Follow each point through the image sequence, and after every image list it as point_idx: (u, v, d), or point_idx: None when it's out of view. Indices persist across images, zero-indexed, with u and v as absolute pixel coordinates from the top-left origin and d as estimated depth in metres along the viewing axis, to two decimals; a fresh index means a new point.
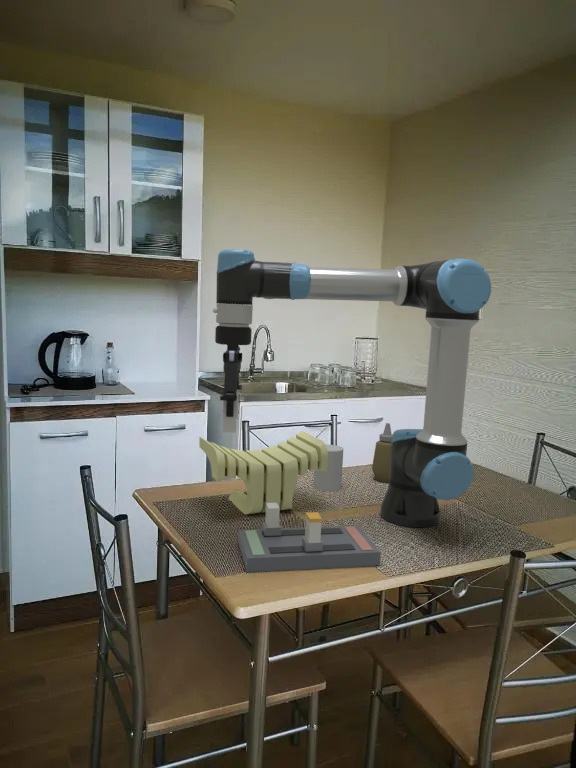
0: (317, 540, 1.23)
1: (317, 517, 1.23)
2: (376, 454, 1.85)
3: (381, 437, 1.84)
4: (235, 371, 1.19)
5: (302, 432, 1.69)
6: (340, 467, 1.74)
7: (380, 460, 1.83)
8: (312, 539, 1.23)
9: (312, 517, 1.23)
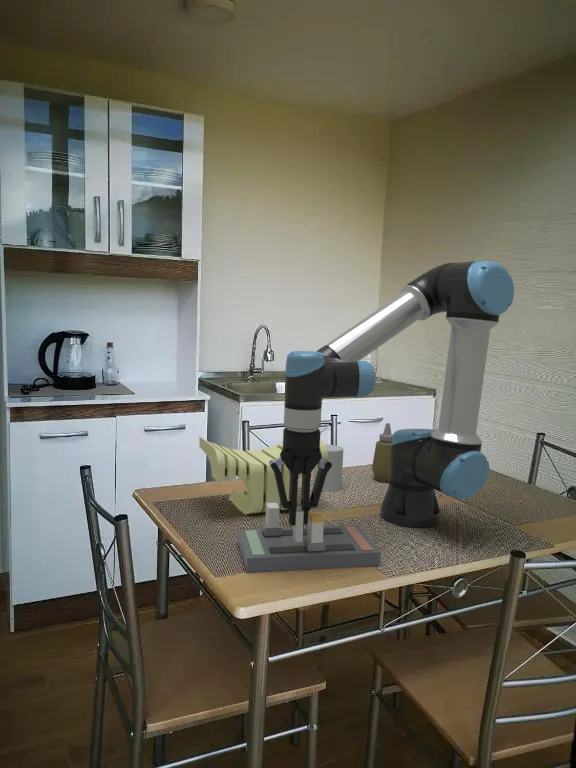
0: (319, 540, 1.23)
1: (319, 517, 1.23)
2: (376, 454, 1.85)
3: (381, 437, 1.84)
4: (277, 483, 1.21)
5: None
6: (340, 467, 1.74)
7: (380, 460, 1.83)
8: (314, 539, 1.23)
9: (314, 517, 1.23)
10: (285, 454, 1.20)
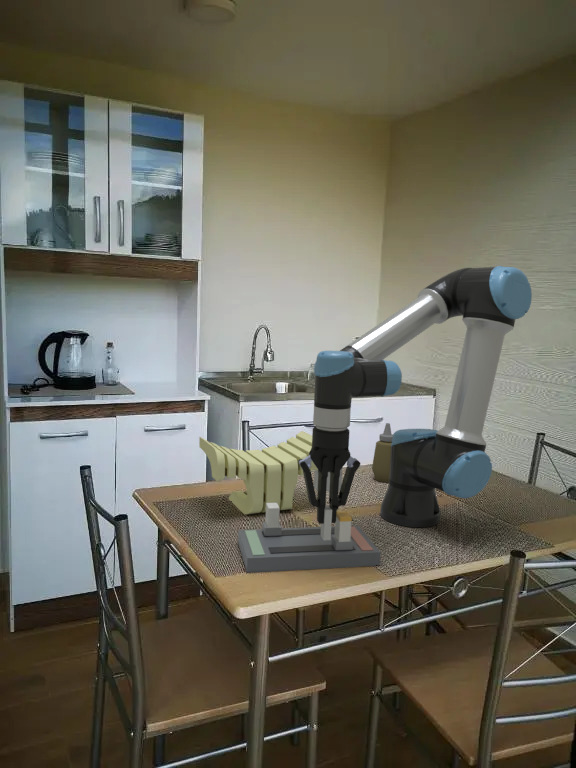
0: (347, 539, 1.24)
1: (347, 516, 1.24)
2: (376, 454, 1.85)
3: (381, 437, 1.84)
4: (306, 481, 1.22)
5: (302, 432, 1.69)
6: None
7: (380, 460, 1.83)
8: (342, 538, 1.24)
9: (342, 516, 1.24)
10: (314, 453, 1.21)
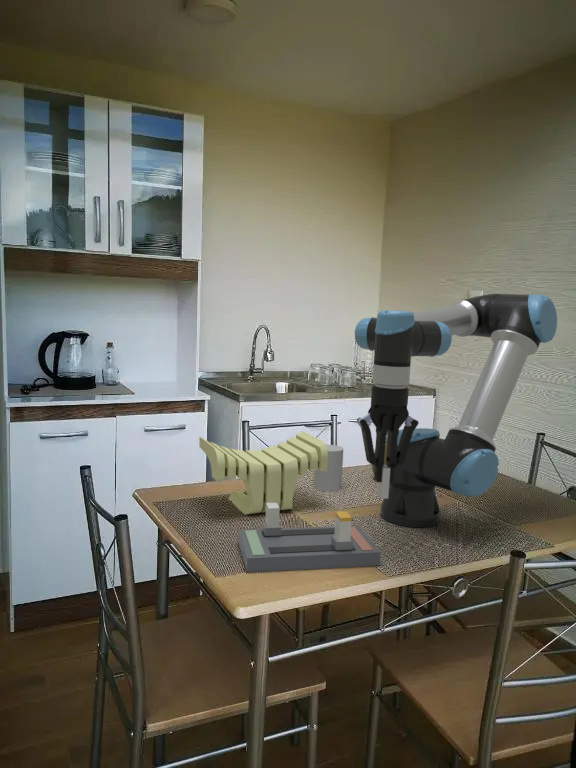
0: (347, 539, 1.24)
1: (347, 516, 1.24)
2: None
3: None
4: (365, 439, 1.23)
5: (302, 432, 1.69)
6: (340, 467, 1.74)
7: None
8: (342, 538, 1.24)
9: (342, 516, 1.24)
10: (374, 411, 1.22)
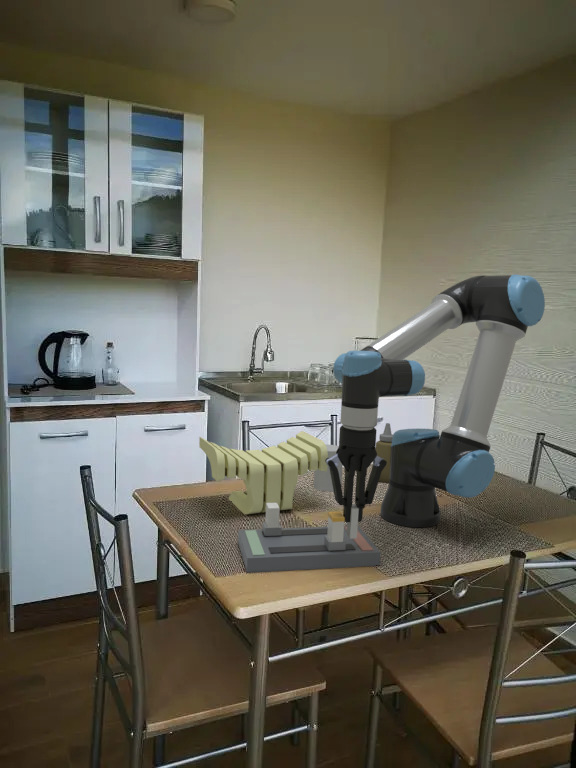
0: (340, 539, 1.24)
1: (340, 516, 1.24)
2: None
3: (381, 437, 1.84)
4: (333, 480, 1.23)
5: (302, 432, 1.69)
6: (340, 467, 1.74)
7: None
8: (335, 538, 1.24)
9: (335, 516, 1.24)
10: (342, 452, 1.22)
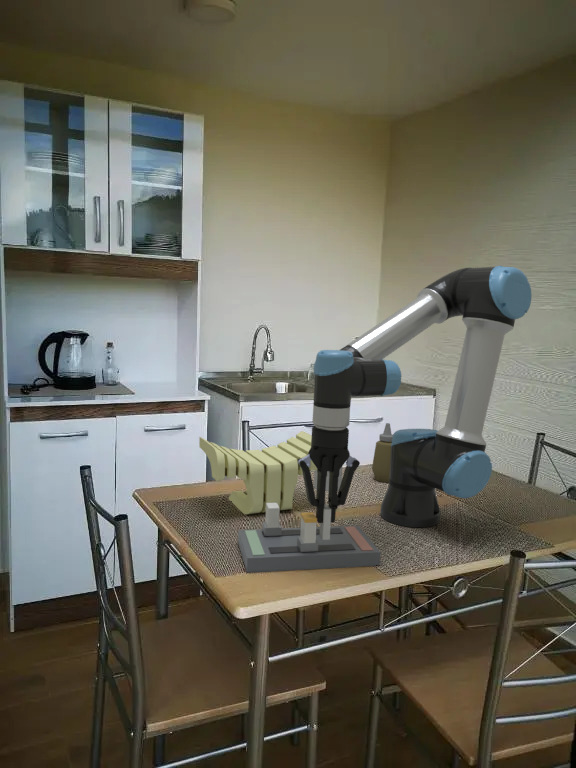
0: (312, 540, 1.23)
1: (312, 517, 1.23)
2: (376, 454, 1.85)
3: (381, 437, 1.84)
4: (305, 480, 1.22)
5: (302, 432, 1.69)
6: None
7: (380, 460, 1.83)
8: (307, 539, 1.23)
9: (307, 517, 1.23)
10: (314, 452, 1.21)
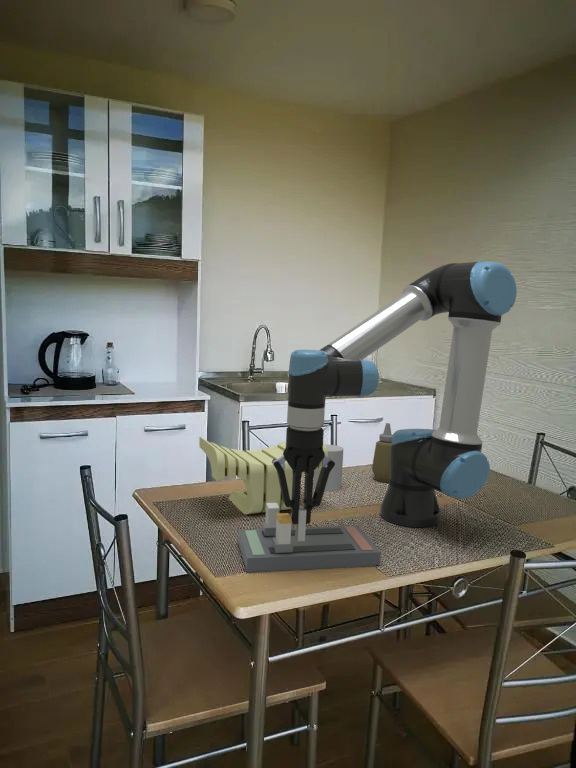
0: (287, 541, 1.22)
1: (287, 518, 1.22)
2: (376, 454, 1.85)
3: (381, 437, 1.84)
4: (280, 481, 1.21)
5: None
6: (340, 467, 1.74)
7: (380, 460, 1.83)
8: (282, 540, 1.22)
9: (282, 518, 1.22)
10: (288, 453, 1.20)
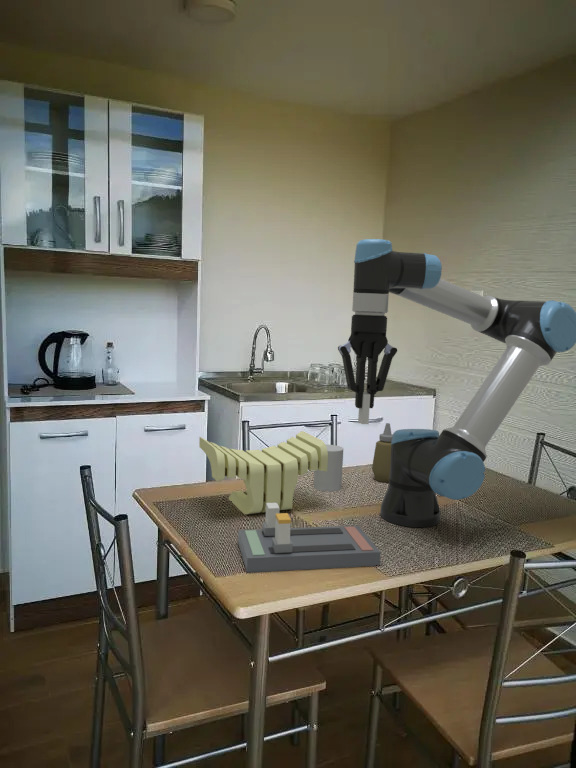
0: (286, 541, 1.22)
1: (286, 518, 1.22)
2: (376, 454, 1.85)
3: (381, 437, 1.84)
4: (346, 366, 1.27)
5: (302, 432, 1.69)
6: (340, 467, 1.74)
7: (380, 460, 1.83)
8: (281, 540, 1.21)
9: (281, 518, 1.22)
10: (354, 338, 1.27)
